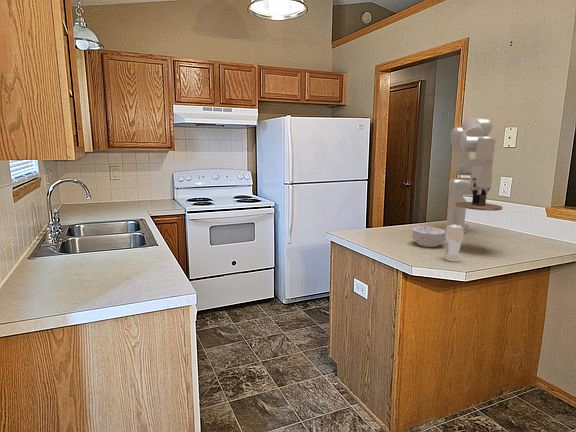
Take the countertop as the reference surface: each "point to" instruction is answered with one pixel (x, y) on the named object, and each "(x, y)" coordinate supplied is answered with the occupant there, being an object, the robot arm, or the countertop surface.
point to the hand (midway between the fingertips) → (478, 202)
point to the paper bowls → (428, 236)
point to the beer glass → (453, 242)
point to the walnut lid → (479, 205)
